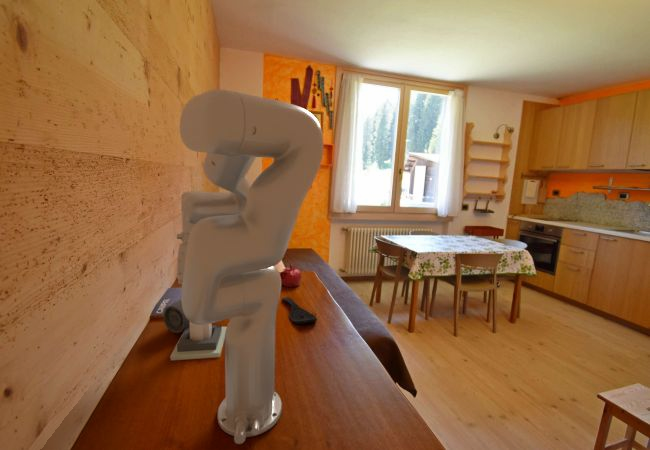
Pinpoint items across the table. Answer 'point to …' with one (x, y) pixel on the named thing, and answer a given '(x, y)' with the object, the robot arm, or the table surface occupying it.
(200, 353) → the socket board
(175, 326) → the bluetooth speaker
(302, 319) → the hairbrush
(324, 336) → the table surface
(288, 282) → the pomegranate
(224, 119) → the robot arm
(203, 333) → the keyed plug
